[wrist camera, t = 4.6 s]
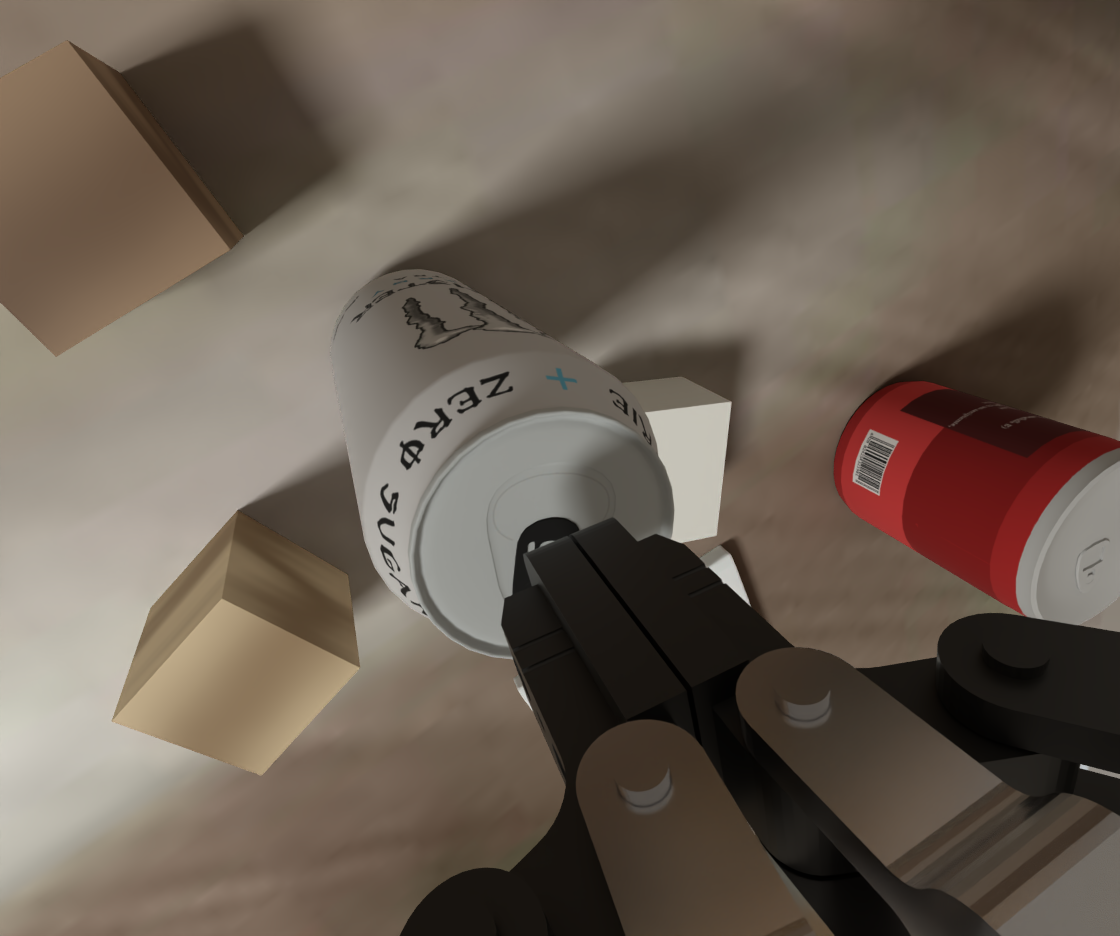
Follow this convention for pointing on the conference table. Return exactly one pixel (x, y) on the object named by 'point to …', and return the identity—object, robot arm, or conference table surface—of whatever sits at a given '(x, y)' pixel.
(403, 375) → the energy drink can
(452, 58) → the conference table surface
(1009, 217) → the conference table surface
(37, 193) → the walnut block
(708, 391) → the pale grey block
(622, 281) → the conference table surface
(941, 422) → the canned food
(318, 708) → the oak block
